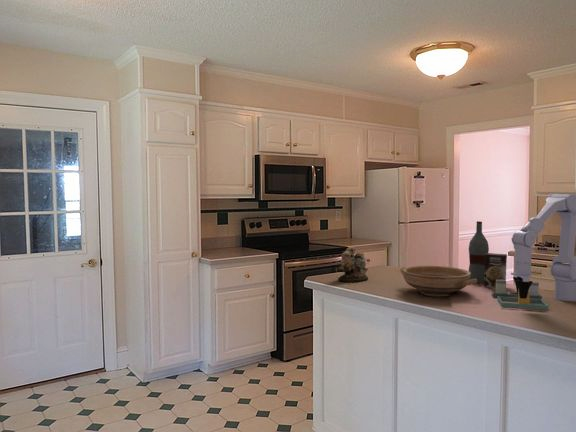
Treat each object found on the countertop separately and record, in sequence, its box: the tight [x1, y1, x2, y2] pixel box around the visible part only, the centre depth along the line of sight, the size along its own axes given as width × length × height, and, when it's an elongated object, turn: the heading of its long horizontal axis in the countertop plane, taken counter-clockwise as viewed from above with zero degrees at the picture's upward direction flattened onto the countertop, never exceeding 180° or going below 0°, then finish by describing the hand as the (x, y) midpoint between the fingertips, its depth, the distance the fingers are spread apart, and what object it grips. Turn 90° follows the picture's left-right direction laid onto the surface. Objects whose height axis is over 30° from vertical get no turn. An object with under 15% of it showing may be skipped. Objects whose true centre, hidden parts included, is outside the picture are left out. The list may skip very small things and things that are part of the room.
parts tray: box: [496, 296, 549, 313], centre depth 179 cm, size 16×11×2 cm
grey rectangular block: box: [530, 280, 540, 296], centre depth 188 cm, size 4×2×7 cm, turn 73°
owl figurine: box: [337, 246, 369, 284], centre depth 233 cm, size 18×12×17 cm, turn 126°
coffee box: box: [483, 252, 508, 289], centre depth 212 cm, size 9×6×16 cm
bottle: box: [468, 220, 490, 285], centre depth 227 cm, size 9×9×30 cm
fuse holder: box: [491, 290, 543, 300], centre depth 190 cm, size 18×7×3 cm, turn 73°
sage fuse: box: [495, 279, 507, 294], centre depth 192 cm, size 4×2×7 cm, turn 73°
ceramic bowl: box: [399, 265, 477, 298], centre depth 203 cm, size 37×29×10 cm
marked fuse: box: [517, 288, 530, 304], centre depth 179 cm, size 4×2×7 cm, turn 73°
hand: (521, 296), depth 179 cm, fingers open, 4 cm apart
